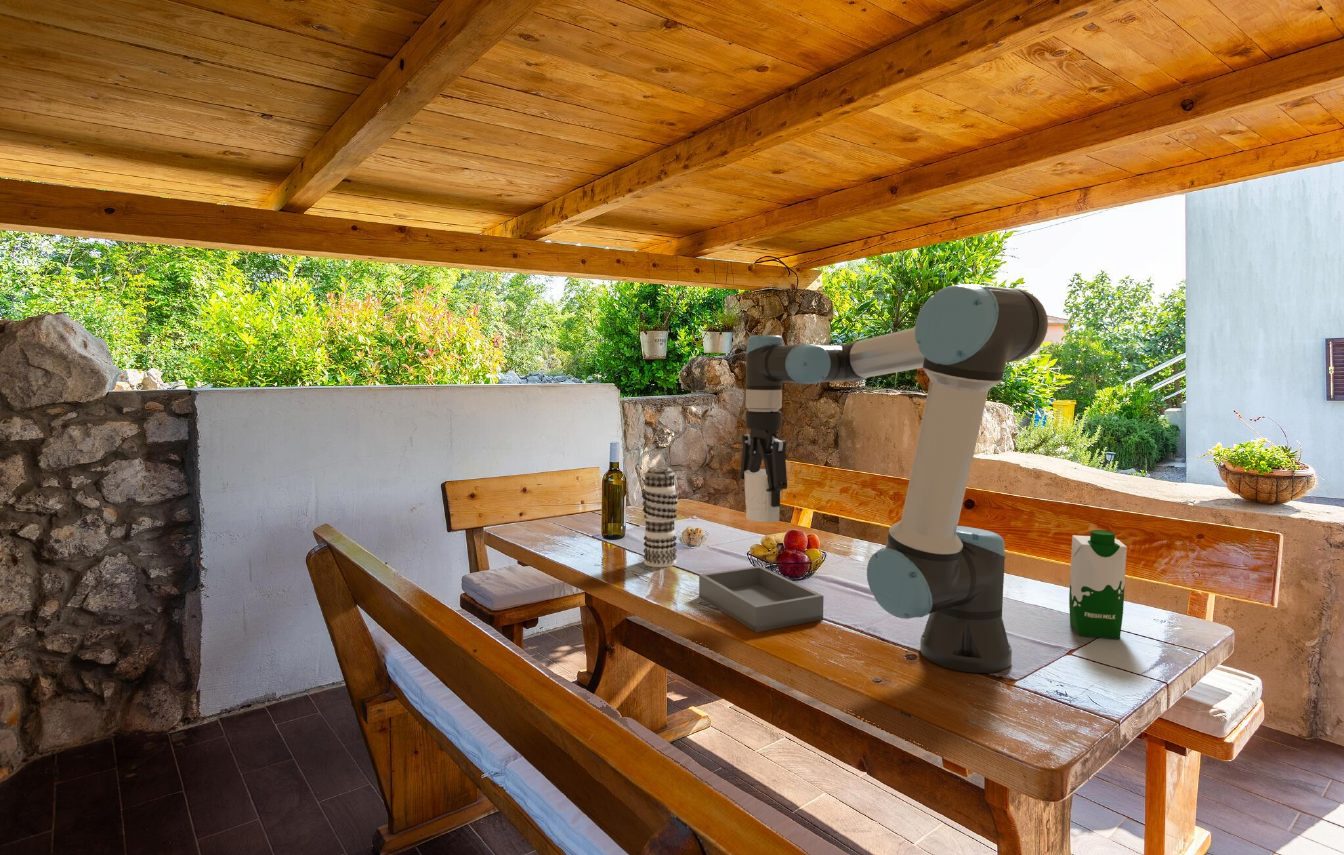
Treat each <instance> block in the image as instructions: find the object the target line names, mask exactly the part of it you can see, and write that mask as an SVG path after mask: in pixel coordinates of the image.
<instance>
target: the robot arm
mask: <svg viewBox="0 0 1344 855" xmlns="http://www.w3.org/2000/svg"><path fill="white" fill-rule="evenodd" d="M1048 321H1049V318H1048V315H1047V312H1046V309H1045V306H1044V305H1043V303H1042V302H1041V301H1040V300H1039V299H1038V298H1037V297H1036V296H1035V295H1033V294H1031V293H1030V292H1029V291H1026V290H1023V289H1021V288H1014V287H1001V286H993V285H992V286H989V285H980V284H977V283H974V284H970V283H964V284H954V285H948V286H946V287H943V288H941V289H940V290H938V291H937V292H935V293H934V294H933V295H931V296H930V297H928V299H927V300H926V301H925V302H924V303H923V305H922V307H921V308H920V310H919V312H918V315H917V317H916V320H915V325H914V327H912V328H908V329H903V330H900V331H895V332H890V333H887V334H882V335H878V336H875V337H870V338H865V339H861V340H858V341H853V342H849V343H844V344H814V343H813V344H812V343H800V344H785V343H784V338H783V337H782V336H781V335H773V334H771V335H770V334H769V335H766V334H765V335H758V334H757V335H751V336H749V337H748V338H747V340H746V341H747V342H746V353H745V408H747V409H748V410H747V411H746V412H745V428H746V429H748V430H750V433H749V434H742V436H741V440H742V450H741V463H740V464H741V465H740V474H739V477H740V479H741V480H743V482H744V483H745V477H744V471H746V470H750V472H752V473H755V472H758V471H759V470H760V469H761V465H762V460H763V463H764V464H763V465H764V469H765V470H766V475H768V476H767V480H768V485H769V488H768V489H766V491H767V501H766V522H765V523H777V522H780V506H781V497H780V492H781V493H782V491H783V490H787V489H788V477H787V476H788V474H787V461H786V450H787V441H786V440H785V439H784V440H780V439H778V434H777V431H778V430H780V429H781V428H782V426H783V425H782V424H783V412H782V411H781V410H780V409H782V407H783V398H782V397H783V383H792V384H800V385H812V384H818V383H830V382H831V383H833V382H834V383H835V382H836V383H837V382H838V383H839V382H842V383H843V382H846V383H856V382H860V381H862V382H863V381H865V380H867V379H868V378H872V377H877V376H883V375H888V374H893V373H900V372H901V373H902V372H906V371H911V370H917V369H922V370H923V371H924V372H925V374H926V375H927V377H928V379H929V384H928V389H927V394H926V399H925V403H924V409H923V412H922V417H921V418H922V419H921V424H920V428H919V433H918V438H917V443H916V447H915V453H914V457H913V462H912V466H911V470H910V477H909V480H908V486H907V490H906V494H905V500H904V504H903V509H902V515H901V520H899V521H896V522H895V523H894V524H892V525H891V526H890V527H889V530H888V535H887V539H886V543H885V547H883V548H880V549H878V550H877V551H876V552H875V553H873V554H872V555H871V557H870V558H869V560H868V562H867V566H866V580H867V584H868V587H869V590H870V592H871V593H872V594H873V597H874V599H875V601H876V603H877V604H878V605H879V606H880V607H881V608H882V609H883V610H884V611H885V612H887V613H888V614H889V615H890V616H891V615H892V616H893V617H895V618H898V619H902V620H903V619H904V620H909V619H913V618H914V619H915V618H924V617H926V616H928V615H929V616H928V618H927V621H926V624H925V627H924V631H923V632H922V634H921V637H920V647H919V648H920V649H919V650H920V654H921V655H922V656H923V657H924V658H925V659H926V660H928V661H929V662H932V663H933V664H935V665H938V666H939V667H940V666H941V667H943V668H946V669H950V670H954V671H960V672H965V673H974V674H976V673H977V674H986V673H987V674H989V673H996V672H1002V671H1004V670H1006V669H1009V667H1010V666H1011V665H1012V661H1013V660H1012V657H1013V655H1012V654H1013V650H1012V646H1011V644H1010V643H1009V640H1008V636H1007V632H1006V628H1005V624H1004V620H1003V606H1004V605H1003V603H1004V602H1003V601H1004V599H1003V598H1004V581H1005V580H1004V579H1005V559H1006V556H1007V555H1006V554H1005V552H1006V551H1005V541H1004V538H1003V537H1002V535H1000V534H998V533H996V532H994V531H990V530H986V529H982V528H975V527H970V526H963V525H958V523H959V521H960V516H961V511H962V507H963V503H964V498H965V494H966V490H967V485H968V480H969V478H970V474H971V467H972V464H973V459H974V454H975V450H976V447H977V441H978V438H979V433H980V429H981V424H982V420H983V416H984V413H985V406H986V402H987V400H988V399H987V398H988V394H989V391H990V390H991V389H992V388H994V387H995V386H997V385H999V384H1000V383H1002V381H1003V377H1004V373H1005V369H1006V364H1007V363H1012V362H1017V361H1020V360H1024V359H1025V358H1028V357H1029V356H1030V355H1033V353H1035V352H1036V351H1037V350H1038V349H1039V348H1040V347H1041V345H1042V344H1043V342H1044V340H1045V338H1046V335H1047V333H1048V328H1049V322H1048Z"/></svg>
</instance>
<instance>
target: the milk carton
mask: <svg viewBox="0 0 1344 855" xmlns="http://www.w3.org/2000/svg"><path fill="white" fill-rule="evenodd" d="M1071 538H1072V539H1071V553H1070V555H1071V557H1070V558H1071V559H1070V571H1069V572H1070V574H1069V594H1068V595H1069V597H1068V598H1069V599H1068V601H1069V602H1068V603H1069V604H1068V606H1069V607H1068V608H1069V623H1070V625H1071V626H1072V628H1073V629H1074V630H1075V632H1076V634H1077V635H1078V636H1080V637H1088V638H1089V637H1090V638H1102V639H1114V640H1120V639H1121V635H1122V634H1121V633H1122V624H1123V617H1124V604H1125V603H1124V602H1125V587H1126V586H1125V583H1126V581H1125V580H1126V569H1127V568H1126V565H1127V564H1126V562H1127V551H1128V546H1126V545H1125V544H1124V543H1123V542H1122V541H1121V539H1117V538H1116V533H1115V532H1112V531H1109V530H1104V529H1103V530H1102V529H1094V530H1093V529H1092V530H1091V531H1090V534H1089V535H1078V534H1077V535H1075V534H1073V535H1072V536H1071Z"/></svg>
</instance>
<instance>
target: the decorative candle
mask: <svg viewBox="0 0 1344 855" xmlns="http://www.w3.org/2000/svg"><path fill="white" fill-rule="evenodd" d="M644 475H645V476H644V481H645V482H644V484H645V485H644V488H643V489H642V490H641V492H642V495H641V498H642V499H643V500H644V501H642V506H643V509H642V512H643V513H644V514H643V520H645V530H644V537H643V540H644V543H643V546H644V548H643V553H644V555H643V559H644V562H643V563H644V565H645V566H648V567H653V568H667V567H671V566H675V565H676V564H677V557H678V556H677V554H676V553H677V551H678V550H677V548H676V546H677V542H676V541H677V536H676V528H675V521H676V520H677V517H678V515H677V514H676V512H677V511H678V509H677V508H676V507H675V506H676V505H677V504H678V501H677V500H676V499H677V498H678V495H677V494H675V490H676V485H675V476H676V475H677V474H676V472H674V471H673V469H672V468H671V467H668V466H652V467H649V468H648V470H647V472H645V473H644Z"/></svg>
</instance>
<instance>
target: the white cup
mask: <svg viewBox="0 0 1344 855" xmlns="http://www.w3.org/2000/svg"><path fill="white" fill-rule="evenodd" d="M767 476H768V475H766V470H765V468H760V470H759V471H758V472H755V473H752V472H750V470H746V471H744V477H745V482H744V498H745V500H744V502H745V515H746V516H745V517H746V519H747V520H749V521H751V522H761V523H767V522H766V501H767V491H766V489H768V488H769V485H768V480H767ZM781 496H782V491H781V492H780V498H781Z"/></svg>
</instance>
